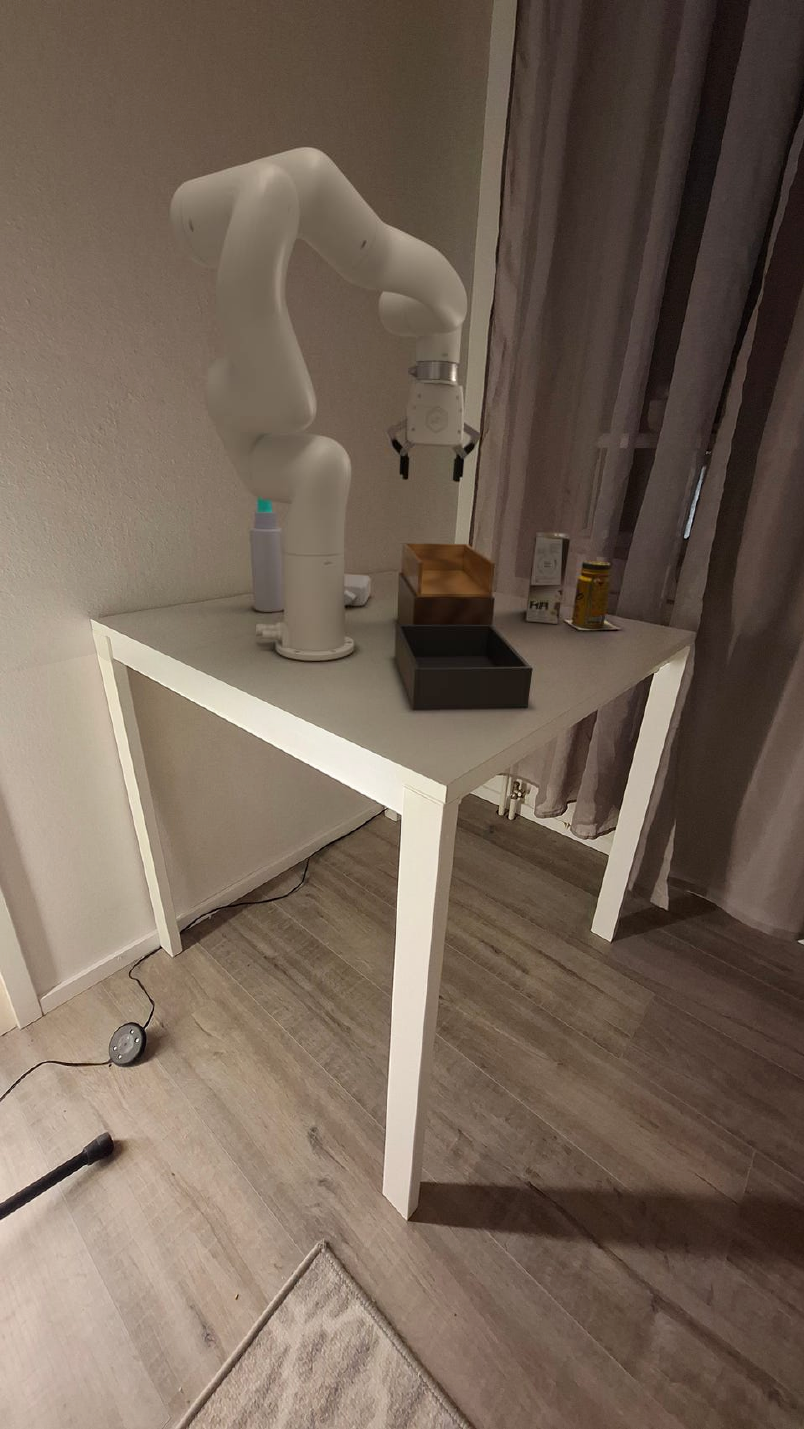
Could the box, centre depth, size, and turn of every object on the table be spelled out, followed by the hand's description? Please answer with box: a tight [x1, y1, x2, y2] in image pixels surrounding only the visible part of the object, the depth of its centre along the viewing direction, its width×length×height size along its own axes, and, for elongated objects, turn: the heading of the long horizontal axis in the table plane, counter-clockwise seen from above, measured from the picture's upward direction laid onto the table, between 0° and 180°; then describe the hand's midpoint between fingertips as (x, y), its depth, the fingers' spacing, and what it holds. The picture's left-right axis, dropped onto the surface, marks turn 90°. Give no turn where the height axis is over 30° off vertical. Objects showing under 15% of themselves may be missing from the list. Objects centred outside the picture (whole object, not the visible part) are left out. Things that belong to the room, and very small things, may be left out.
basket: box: [394, 624, 534, 711], centre depth 87 cm, size 15×20×6 cm
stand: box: [396, 572, 496, 625], centre depth 108 cm, size 13×20×9 cm, turn 7°
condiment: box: [564, 560, 621, 631], centre depth 117 cm, size 7×8×12 cm
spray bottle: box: [248, 497, 284, 613], centre depth 117 cm, size 6×6×22 cm
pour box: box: [401, 542, 496, 598], centre depth 108 cm, size 12×26×5 cm, turn 7°
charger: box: [345, 573, 372, 607], centre depth 127 cm, size 5×9×15 cm
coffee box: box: [525, 531, 571, 625], centre depth 120 cm, size 9×6×16 cm
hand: (430, 480), depth 114 cm, fingers open, 9 cm apart
